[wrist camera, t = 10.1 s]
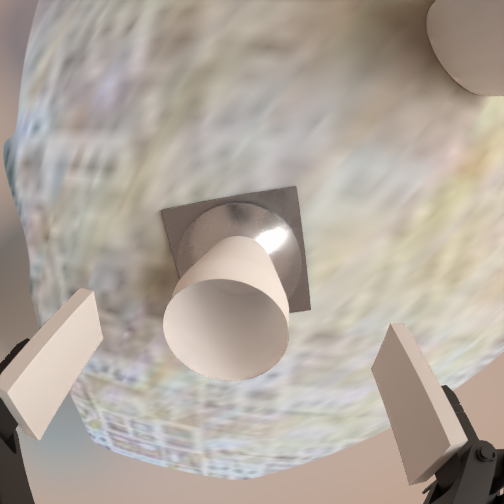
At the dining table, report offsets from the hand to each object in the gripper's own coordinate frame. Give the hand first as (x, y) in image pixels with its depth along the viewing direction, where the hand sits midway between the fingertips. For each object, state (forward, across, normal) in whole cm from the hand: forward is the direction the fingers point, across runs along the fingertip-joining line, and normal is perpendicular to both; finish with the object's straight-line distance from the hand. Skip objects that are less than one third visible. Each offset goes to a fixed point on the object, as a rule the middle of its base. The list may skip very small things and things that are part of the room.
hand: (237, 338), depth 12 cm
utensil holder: (+21, +24, +25) cm, 40 cm away
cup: (+18, -1, -5) cm, 19 cm away
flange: (+20, -1, -5) cm, 20 cm away
